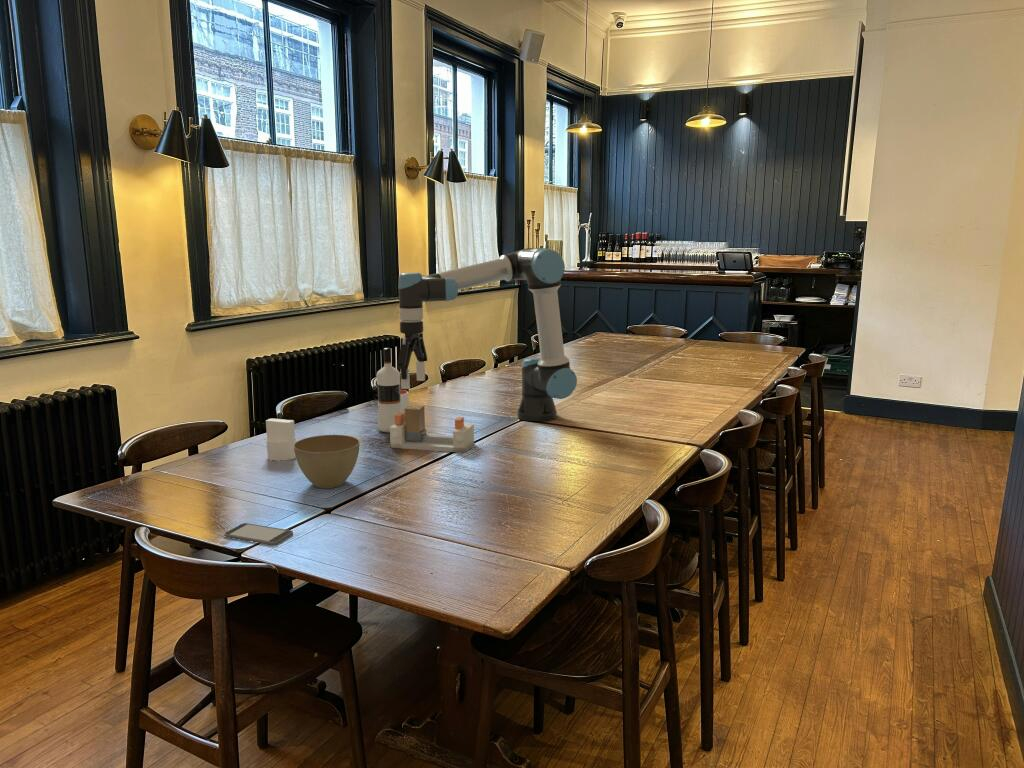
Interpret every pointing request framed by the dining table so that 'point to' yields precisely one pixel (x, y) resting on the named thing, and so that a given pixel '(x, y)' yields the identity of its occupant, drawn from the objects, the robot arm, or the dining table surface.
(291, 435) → the base with upright slab
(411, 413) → the carriage
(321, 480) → the tan bowl
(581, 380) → the dining table surface
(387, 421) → the vodka
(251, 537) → the smartphone
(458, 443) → the linear slide base
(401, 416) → the gauge plunger
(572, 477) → the dining table surface
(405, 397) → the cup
